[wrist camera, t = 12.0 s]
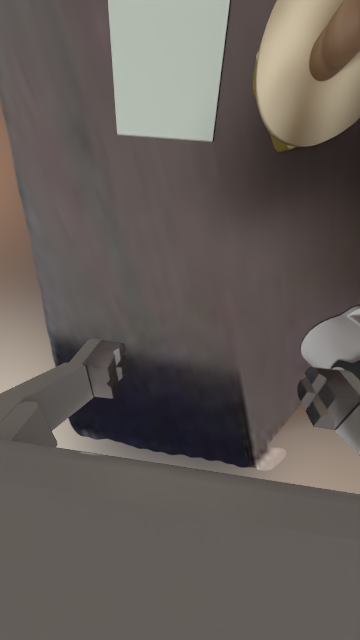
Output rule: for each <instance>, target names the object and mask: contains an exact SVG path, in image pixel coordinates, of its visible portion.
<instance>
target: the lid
mask: <svg viewBox="0 0 360 640" xmlns="http://www.w3.org/2000/svg"><path fill="white" fill-rule="evenodd" d="M255 93H256V101H257V106H258V110H259V114H260V116H261V119H262V121H263V123H264V125H265V127H266V128H267V130H268V131H269V132H270V133H271V135H272V136H273V137H275V138H276V139H277V140H278V141H280V142H282V143H284V144H286V145H289V146H294V147H308V146H314V145H317V144H320V143H322V142H324V141H327V140H329V139H331V138H333V137H335V136H336V135H338V134H340V133H341V132H343V131H344V130H346V129H347V128H348V127H350V126H351V125H352V124H354V123H355V122H356V121H357V120H358V119H359V118H360V0H277V2H276V4H275V6H274V8H273V10H272V13H271V16H270V18H269V21H268V23H267V26H266V29H265V32H264V35H263V38H262V41H261V45H260V49H259V53H258V58H257V65H256V74H255Z"/></svg>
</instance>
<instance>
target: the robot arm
mask: <svg viewBox="0 0 360 640" xmlns="http://www.w3.org/2000/svg"><path fill="white" fill-rule="evenodd" d="M125 350H126V349H125V344H124V343H120V342H113V341H107V340H98V339H89V340H88V341H87V342H86V343H85V345H84V346H83V347H82V348H81V349H80V351H79V352H78V353H77V354H76V355H75V356H74V358H73V359H72V360H71V361H70V362H69V363H64V364H62V365H59V366H57V367H55V368H53V369H51V370H49V371H47V372H45V373H43V374H41V375H39V376H36V377H34V378H32V379H30V380H28V381H26V382H24V383H22V384H20V385H17V386H15V387H14V388H11V389H9V390H7V391H5V392H3V393H1V394H0V640H360V494H354V493H347V492H341V491H335V490H328V489H321V488H315V487H309V486H302V485H296V484H290V483H283V482H277V481H269V480H264V479H257V478H250V477H244V476H238V475H231V474H225V473H219V472H212V471H206V470H199V469H192V468H186V467H179V466H173V465H167V464H160V463H154V462H147V461H141V460H134V459H128V458H121V457H115V456H108V455H102V454H95V453H89V452H82V451H76V450H69V449H63V448H56V446H57V441H56V439H55V437H54V435H53V433H52V430H53V429H55V428H56V427H57V426H58V425H60V424H61V423H62V422H63V421H65V420H66V419H67V418H68V417H70V416H71V415H72V414H73V413H75V412H76V411H77V410H78V409H80V408H81V407H82V406H83V405H85V404H86V403H87V402H88V401H90V400H91V399H92V398H93V396H95V397H104V398H113V397H114V395H115V393H116V391H117V389H118V387H119V383H118V380H120V379H121V378H123V376H124V373H125V370H126V365H127V359H126V356H125V355H124V352H125ZM301 352H302V355H303V357H304V359H305V360H306V361H308V362H309V363H310V364H311V365H312V367H309V368H308V369H307V370H306V372H305V375H306V377H305V378H303V379H301V380H300V382H299V384H298V390H297V392H298V396H299V398H300V401H301V402H302V403H303V404H304V405H306V406H307V409H306V413H307V415H308V417H309V419H310V420H311V423H312V424H313V426H314V427H320V428H325V429H331V430H336V432H337V433H338V434H339V435H340V436H341V437H342V438H343V439H344V440H345V441H346V442H347V443H348V444H349V445H350V446H351V447H352V448H353V449H354V450H355V451H356V452H357V453H358V454H359V455H360V306H355V307H353V308H351V309H350V310H348V311H347V312H345V313H344V314H342V315H340V316H337V317H334V318H331V319H329V320H326V321H324V322H322V323H320V324H319V325H317V326H316V327H314V328H313V329H312V330H311V331H310V332H309V333H308V334H307V335H306V337H305V338H304V340H303V342H302V346H301Z"/></svg>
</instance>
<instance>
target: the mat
mask: <svg viewBox="0 0 360 640" xmlns="http://www.w3.org/2000/svg"><path fill="white" fill-rule="evenodd" d="M229 3H230V0H108V7H109V21H110V36H111V50H112V64H113V79H114V93H115V107H116V122H117V134H118V135H124V136H138V137H151V138H165V139H178V140H192V141H205V142H212V141H213V133H214V125H215V117H216V109H217V101H218V93H219V84H220V76H221V68H222V60H223V52H224V44H225V36H226V28H227V20H228V12H229Z"/></svg>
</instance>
